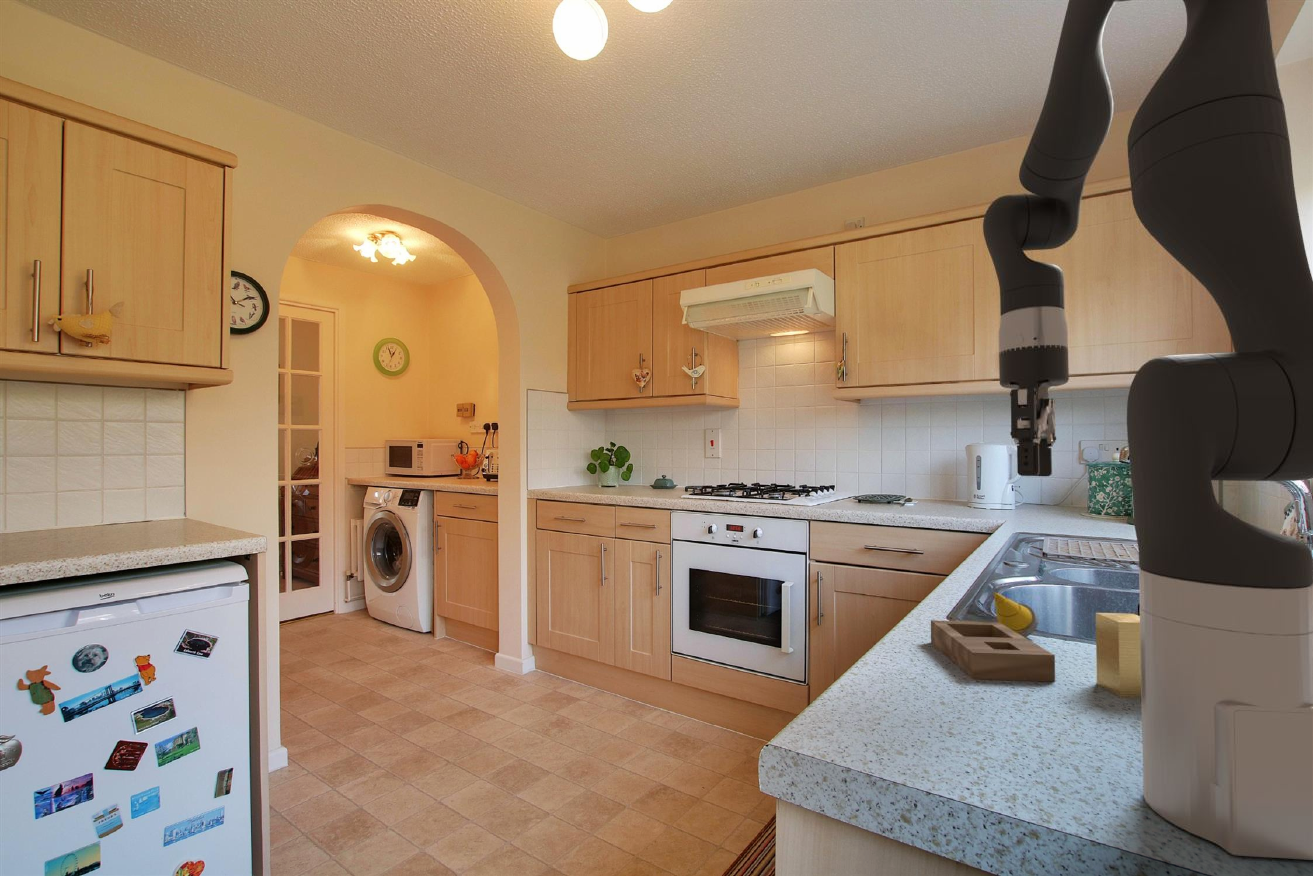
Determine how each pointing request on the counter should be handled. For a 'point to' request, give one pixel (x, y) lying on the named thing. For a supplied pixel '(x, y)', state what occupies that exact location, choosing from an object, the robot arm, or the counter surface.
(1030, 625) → the drill bit
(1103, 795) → the counter surface
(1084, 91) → the robot arm
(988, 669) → the bore block
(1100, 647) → the tan square peg
